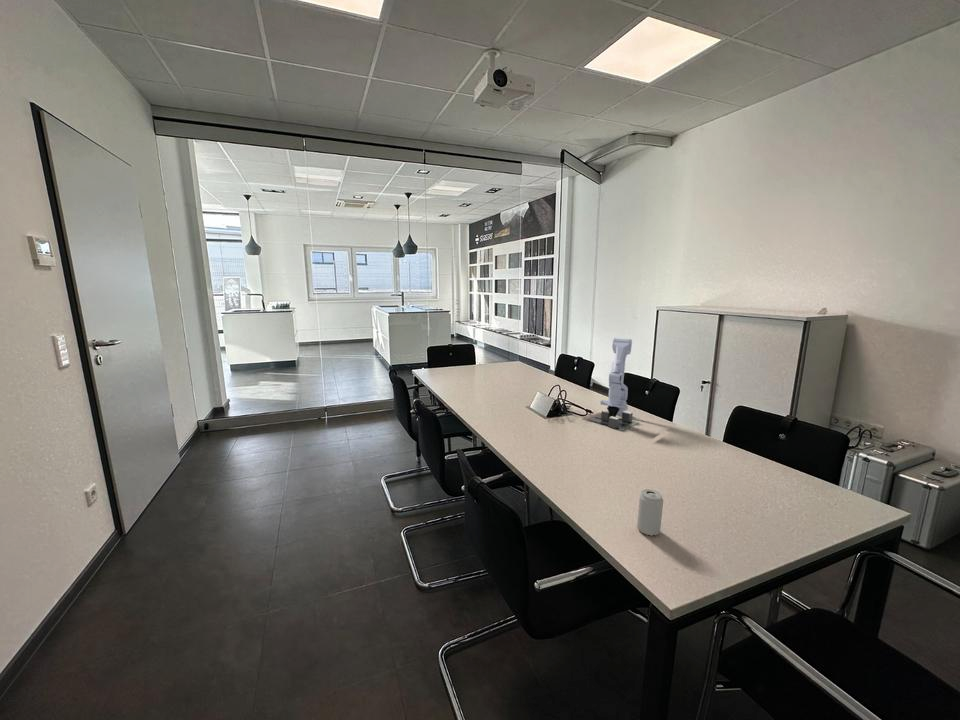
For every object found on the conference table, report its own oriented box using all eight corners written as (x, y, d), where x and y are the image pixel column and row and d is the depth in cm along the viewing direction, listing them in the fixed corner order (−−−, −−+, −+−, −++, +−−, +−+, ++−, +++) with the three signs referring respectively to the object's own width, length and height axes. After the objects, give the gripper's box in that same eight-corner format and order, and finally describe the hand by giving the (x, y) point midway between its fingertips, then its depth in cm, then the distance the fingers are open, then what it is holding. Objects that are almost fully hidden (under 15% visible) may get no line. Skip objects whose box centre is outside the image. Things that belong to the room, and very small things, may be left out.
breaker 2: (624, 418, 214) (625, 410, 213) (632, 420, 211) (632, 412, 210) (621, 420, 212) (622, 411, 211) (628, 422, 209) (629, 413, 208)
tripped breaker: (604, 417, 215) (604, 409, 215) (611, 419, 212) (611, 411, 212) (600, 419, 213) (601, 411, 212) (607, 421, 210) (608, 412, 209)
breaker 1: (611, 424, 205) (612, 415, 204) (619, 426, 202) (619, 417, 201) (608, 426, 202) (608, 417, 202) (615, 428, 199) (616, 419, 199)
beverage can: (653, 524, 121) (657, 488, 119) (664, 537, 115) (667, 499, 113) (633, 524, 121) (636, 488, 119) (642, 537, 115) (646, 499, 112)
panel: (599, 415, 226) (599, 412, 226) (639, 425, 209) (639, 422, 209) (581, 421, 214) (581, 419, 214) (622, 433, 197) (623, 430, 197)
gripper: (598, 393, 210) (596, 418, 212) (623, 399, 199) (621, 425, 202) (605, 391, 215) (603, 415, 217) (630, 397, 204) (628, 422, 207)
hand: (612, 420), depth 210 cm, fingers closed
